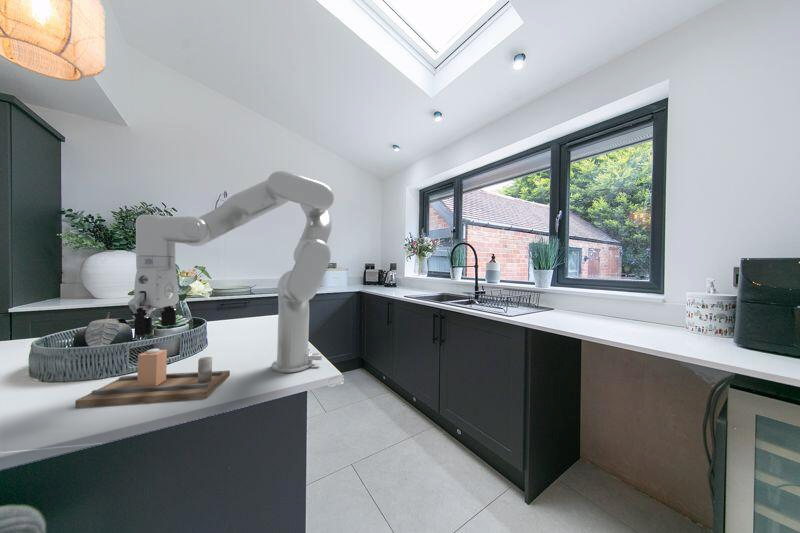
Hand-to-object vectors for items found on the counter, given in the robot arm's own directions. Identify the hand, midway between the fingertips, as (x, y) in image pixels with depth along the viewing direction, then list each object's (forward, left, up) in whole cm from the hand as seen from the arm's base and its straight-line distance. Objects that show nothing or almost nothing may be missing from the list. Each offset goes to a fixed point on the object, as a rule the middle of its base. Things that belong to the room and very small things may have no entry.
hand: (156, 329), depth 70 cm
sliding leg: (+1, 0, -14) cm, 14 cm away
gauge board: (-2, 0, -16) cm, 16 cm away
